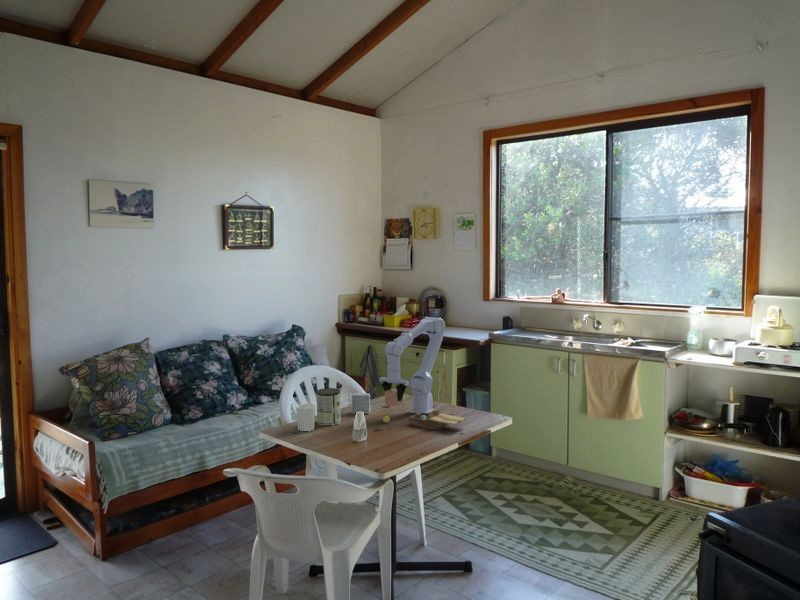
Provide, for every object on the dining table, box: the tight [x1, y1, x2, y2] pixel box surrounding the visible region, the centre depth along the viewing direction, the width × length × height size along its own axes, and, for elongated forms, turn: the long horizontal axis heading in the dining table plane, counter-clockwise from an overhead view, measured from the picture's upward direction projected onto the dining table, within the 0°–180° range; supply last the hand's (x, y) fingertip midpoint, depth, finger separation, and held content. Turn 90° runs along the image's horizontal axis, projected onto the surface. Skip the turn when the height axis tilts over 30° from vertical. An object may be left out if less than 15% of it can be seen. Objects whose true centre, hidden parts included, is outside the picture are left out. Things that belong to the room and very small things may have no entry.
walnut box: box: [408, 412, 449, 431], centre depth 263 cm, size 10×14×3 cm
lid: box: [425, 408, 467, 426], centre depth 257 cm, size 10×14×3 cm
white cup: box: [295, 403, 316, 432], centre depth 257 cm, size 8×8×10 cm
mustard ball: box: [382, 415, 390, 424], centre depth 266 cm, size 3×3×3 cm
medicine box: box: [351, 392, 372, 415], centre depth 282 cm, size 8×4×9 cm, turn 84°
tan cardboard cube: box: [384, 388, 404, 407], centre depth 272 cm, size 6×6×6 cm
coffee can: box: [315, 387, 342, 426], centre depth 267 cm, size 10×10×14 cm
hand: (394, 399), depth 272 cm, fingers closed on tan cardboard cube, 6 cm apart
